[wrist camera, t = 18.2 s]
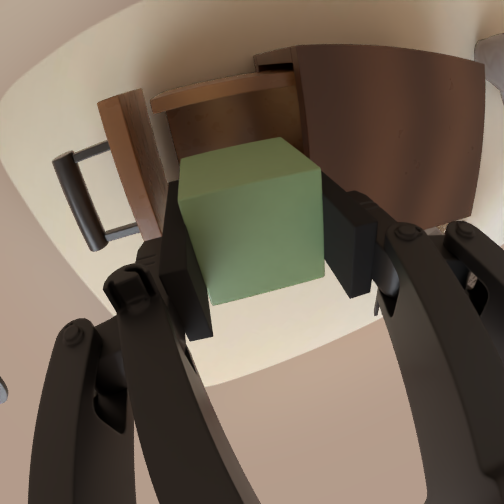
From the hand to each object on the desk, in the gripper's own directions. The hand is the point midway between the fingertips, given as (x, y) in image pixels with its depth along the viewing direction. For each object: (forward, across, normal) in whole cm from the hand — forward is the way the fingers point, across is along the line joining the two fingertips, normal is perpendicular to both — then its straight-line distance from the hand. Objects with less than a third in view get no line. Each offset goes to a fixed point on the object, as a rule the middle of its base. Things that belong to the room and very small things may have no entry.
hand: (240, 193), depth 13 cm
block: (0, 0, 0) cm, 0 cm away
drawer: (+11, -2, 0) cm, 11 cm away
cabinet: (+11, +11, 0) cm, 16 cm away
